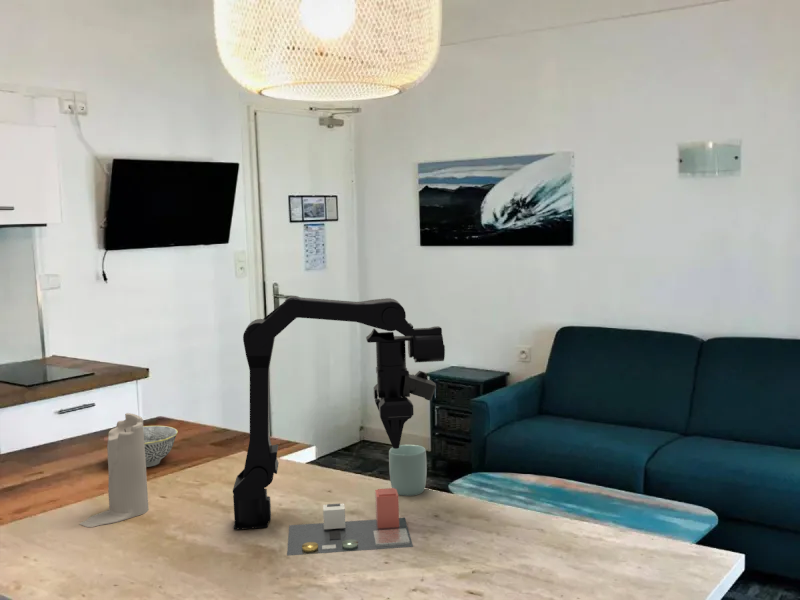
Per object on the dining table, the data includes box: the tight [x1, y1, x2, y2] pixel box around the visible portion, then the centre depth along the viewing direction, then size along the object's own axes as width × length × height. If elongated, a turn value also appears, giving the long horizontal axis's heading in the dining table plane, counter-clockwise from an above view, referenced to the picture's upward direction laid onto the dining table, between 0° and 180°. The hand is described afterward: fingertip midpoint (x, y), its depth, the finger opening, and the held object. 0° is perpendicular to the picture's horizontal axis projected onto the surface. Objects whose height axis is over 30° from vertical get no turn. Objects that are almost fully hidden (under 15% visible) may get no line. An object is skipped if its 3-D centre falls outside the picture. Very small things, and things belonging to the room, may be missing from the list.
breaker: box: [322, 503, 346, 529], centre depth 156 cm, size 4×3×4 cm
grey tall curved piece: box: [79, 412, 149, 528], centre depth 167 cm, size 7×14×20 cm, turn 137°
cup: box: [388, 444, 427, 496], centre depth 175 cm, size 8×8×10 cm
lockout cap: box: [374, 487, 400, 528], centre depth 157 cm, size 4×4×6 cm
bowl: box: [143, 425, 178, 468], centre depth 204 cm, size 16×16×8 cm
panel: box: [286, 517, 414, 557], centre depth 152 cm, size 22×14×2 cm, turn 96°
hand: (393, 441), depth 164 cm, fingers open, 9 cm apart
